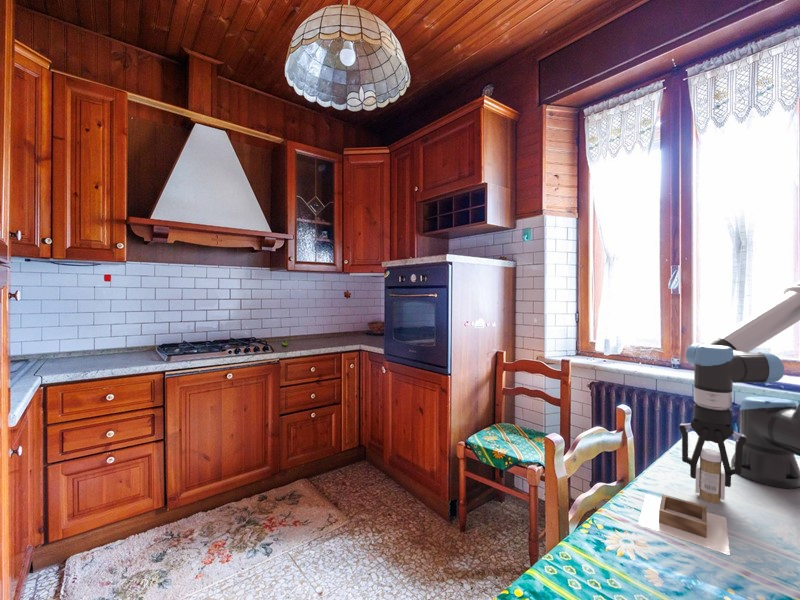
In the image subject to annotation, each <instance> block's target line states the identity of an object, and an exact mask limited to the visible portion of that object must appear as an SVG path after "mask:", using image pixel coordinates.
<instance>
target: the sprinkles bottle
mask: <svg viewBox="0 0 800 600" xmlns="http://www.w3.org/2000/svg"><path fill="white" fill-rule="evenodd" d="M722 464H723V462H722V458H721V454H720V451H719V450H716V449H713V448H712V449H711V448H707V447H706V448H705V447H703V448H702V451H701V453H700V456H699V465H700V478H699V493H698V494H699V495H698V497H699V498H700V499H701V500H704V501H706V502H708V503H712V504H720V503H721V498H720V494H721V470H722Z"/></svg>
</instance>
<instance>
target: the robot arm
mask: <svg viewBox="0 0 800 600" xmlns="http://www.w3.org/2000/svg"><path fill="white" fill-rule="evenodd" d="M799 321H800V280H799V281H797V282H795V283H794V284H792V285H790V286H788V287H787V288H786V289H785V290H784V291H783V295H782V296H780V297H778V298H777V299H775V300H774V301H772V302H770V303H769V304H767V305H766V306H764V307H763V308H761V309H759V310H758V311H756V312H755V313H753V314H751V315H750V316H748V317H747V318H745V319H743V320H742V321H740V322H739V323H737V324H735V325H733V326H732V327H731V328H729V329H728V330H726V331H724V332H723V333H721V334H720V335H717V337H715V338H713V339H712V340H710V341H708V342H707V343H704V342H695V343H692V344H690V345H689V346H688V347H687V349H686V351H685V358H686V361H687V362H688V364H689V365H690V366H692V367H694V370H693V371H694V381H693V382H694V383H693V384H694V385H693V401H694V402H695V403H693V413H692V414H693V417H692V420H691V421H690V422H689V423H688V422H687V423H683V422H680V423H679V426H678V428H679V430H680V433H681V460H682V462H683V463H686V464H688V465H689V466H690V470H689V471H690V474H689V475H690V478H692V479H695V490H694V491H695V493H696V494H699V478H700V464H698V462H699V460H700V453H701V451H702V448H704V445H705V442H712V443H714V444H717V446H718V447H717V448H718V451H719V452H720V454H721V458H722V465H723V469H724V470H722V469H721V494H720V501H721V500H722V501H725V499H726V498H725V496H726V495H725V492H726V490H725V489H726V488H727V487H728V488H730V487H732V476H733V475H737V476H741V477H743V478H746V479H748V480H751V481H753V482H756V483H759V484H762V485H766V486H771V487H774V488H776V487H777V488H784V489H800V466H799V464H798V462H797V459H796V457H795V455H797V456H798V457H800V402H799V403H798V405H797V403H796V401H795V400H791V399H786V398H780V397H771V396H770V397H769V396H746V397H743V398H742V399H741V400H740V401H741V402H740V408H739V432H737V431H735V430H734V428H733V427H732V409H731V408H732V406H733V403H732V402H733V386H734V384H738V383H739V384H745V383H746V384H748V383H749V384H766V383H767V384H768V383H775V382H779V381H780V380H781V379H782V378H783V377H784V376H785V365H784V363H783V361H782V360H781V359H780V358H779V356H776V355H775V354H772V353H769V352H768V353H765V352H761V351H760V352H752V351H753V350H755V349H756V348H758V347H759V346H761V345H762V344H764V343H766V342H767V341H769V340H771V339H772V338H774V337H775V336H777V335H779V334H781V333H782V332H784V331H785V330H787V329H788V328H790V327H792V326H793V325H795V324H797V323H798V322H799ZM691 429H692V430H693V431H694V432H695V433H696V434H697V436H698V438H697V441H696V444H695V447H694V450H693V453H692V456H691V457H689V433H691ZM730 437H733V441H734V442H735V446H734V448H735V449H734V453H733V455H732V458H731V460H730V462H729V457H728V454H727V453H728V452H727V448H726V445H725V441H726V440H727V439H729V438H730Z"/></svg>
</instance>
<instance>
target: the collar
mask: <svg viewBox="0 0 800 600" xmlns="http://www.w3.org/2000/svg"><path fill="white" fill-rule="evenodd" d="M666 509H669V510H673V511H676V512H679V513H682V514H686V515H689V516H692V517H696V518H699V519H702V521H698V520H695V519H692V518H689V517H685V516H682V515H679V514H676V513H672V512H669V511H666ZM707 509H708V508H707V506H705V505H701V504H698V503H695V502H692V501H687V500H684V499H681V498H678V497H674V496H670V495H668V494H664V493H662V495H661V503H660V509H659V523H661V524H665V525H668V526H671V527H674V528H677V529H680V530H683V531H686V532H689V533H692V534H695V535H698V536H701V537H704V538H706V536H707V512H708V511H707Z"/></svg>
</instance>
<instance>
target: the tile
mask: <svg viewBox="0 0 800 600" xmlns="http://www.w3.org/2000/svg"><path fill="white" fill-rule="evenodd" d="M661 498H662V497H661ZM661 498H660V497H657V496H653V495H650V494H645V497H644V500H643V505H642V508H641V513H640V515H639V519H638V524H637V525H638V526H641V527H645V528H648V529H650V530H653V531H657V532H660V533H663V534H665V535H668V536H672V537H674V538H677V539H679V540H682V541H686V542H689V543H691V544H695V545H698V546H700V547H704V548H706V549H709V550H712V551H715V552H718V553H721V554H724V555H727V556H731V553H730V544H729V532H728V525H727V517H725V516H722V515H719V514H715V513H711V512H708V511H707V536H706V538H704V537H701V536H698V535H695V534H692V533H689V532H686V531H683V530H680V529H677V528H674V527H671V526H668V525H665V524H661V523H659V509H660V503H661ZM666 511H669V512H672V513H676V514H679V515H682V516H685V517H689V518H692V519H695V520H698V521H702V519H699V518H696V517H692V516H689V515H686V514H682V513H679V512H676V511H673V510H669V509H666Z"/></svg>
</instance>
